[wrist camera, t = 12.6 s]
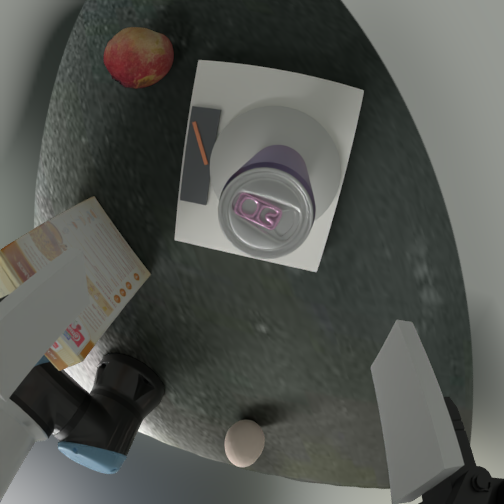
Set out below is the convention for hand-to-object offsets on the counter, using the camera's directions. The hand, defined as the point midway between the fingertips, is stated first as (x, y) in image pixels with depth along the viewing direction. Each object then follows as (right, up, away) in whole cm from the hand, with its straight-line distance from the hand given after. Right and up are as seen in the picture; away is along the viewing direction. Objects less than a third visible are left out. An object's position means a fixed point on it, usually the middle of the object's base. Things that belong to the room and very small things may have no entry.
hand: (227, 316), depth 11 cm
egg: (0, -33, +45) cm, 56 cm away
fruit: (-11, +26, +19) cm, 34 cm away
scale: (+2, +13, +23) cm, 27 cm away
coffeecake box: (-21, +4, +31) cm, 38 cm away
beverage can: (+4, +11, +20) cm, 23 cm away
